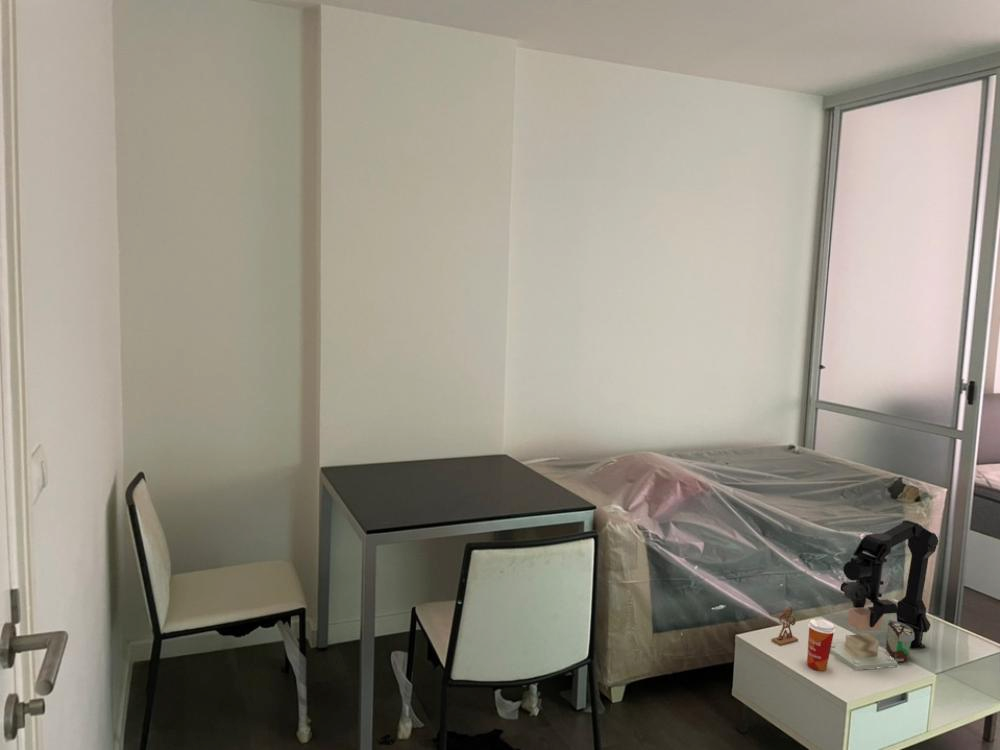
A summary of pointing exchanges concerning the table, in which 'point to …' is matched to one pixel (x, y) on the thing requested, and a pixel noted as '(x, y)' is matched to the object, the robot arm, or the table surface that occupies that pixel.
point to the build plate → (861, 659)
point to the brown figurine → (788, 637)
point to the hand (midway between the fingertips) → (864, 622)
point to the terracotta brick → (862, 619)
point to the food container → (899, 640)
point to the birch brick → (861, 645)
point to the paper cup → (819, 644)
